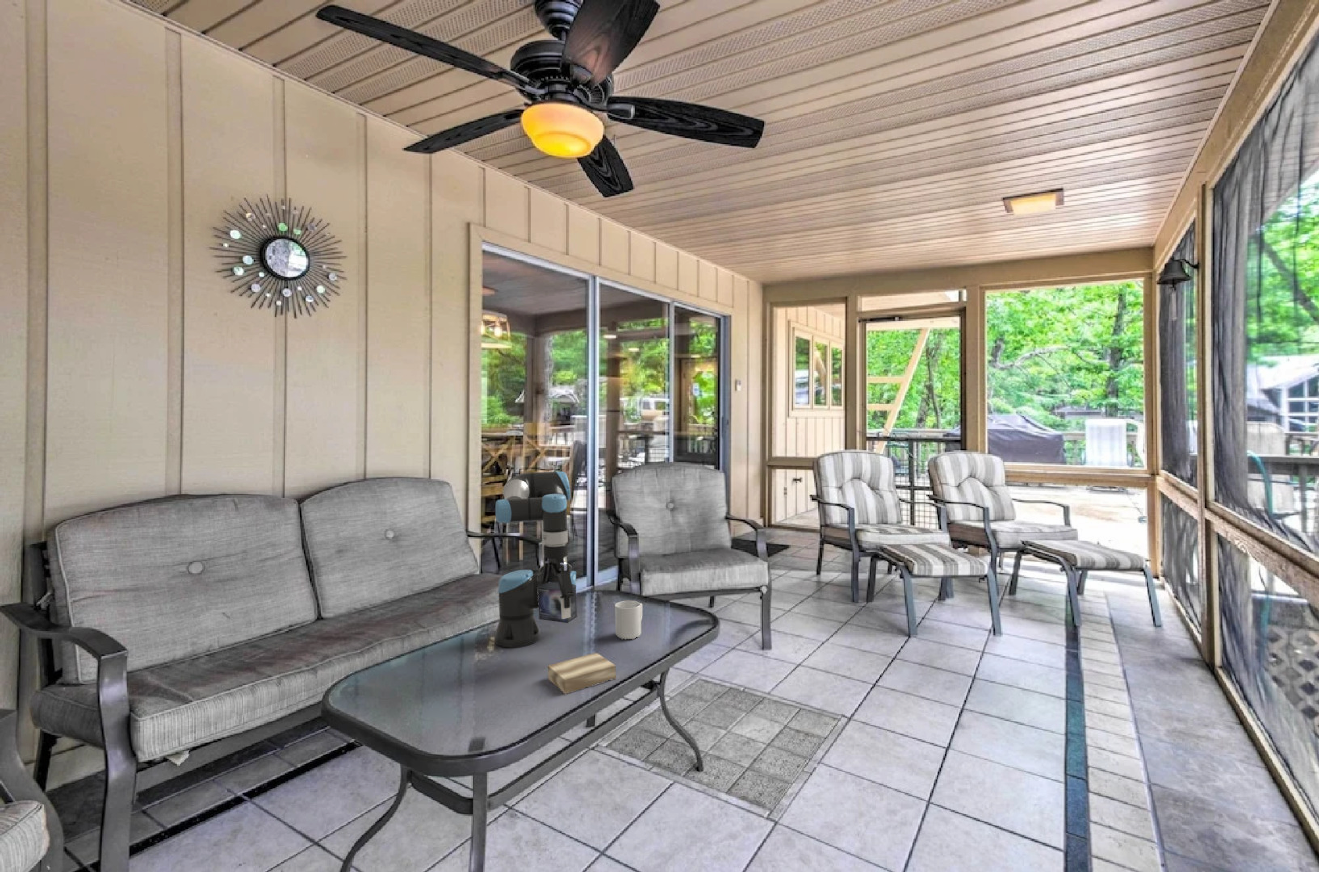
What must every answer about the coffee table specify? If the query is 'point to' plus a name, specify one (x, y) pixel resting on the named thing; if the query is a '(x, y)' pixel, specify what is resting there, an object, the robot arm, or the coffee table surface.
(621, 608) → the mug
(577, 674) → the wooden block
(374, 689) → the coffee table surface
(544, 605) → the small box
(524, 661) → the coffee table surface
